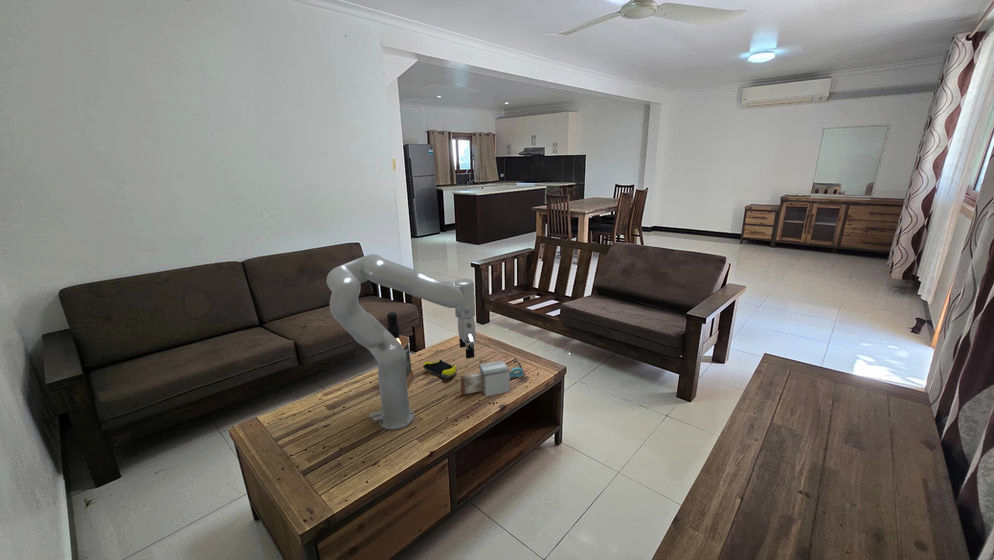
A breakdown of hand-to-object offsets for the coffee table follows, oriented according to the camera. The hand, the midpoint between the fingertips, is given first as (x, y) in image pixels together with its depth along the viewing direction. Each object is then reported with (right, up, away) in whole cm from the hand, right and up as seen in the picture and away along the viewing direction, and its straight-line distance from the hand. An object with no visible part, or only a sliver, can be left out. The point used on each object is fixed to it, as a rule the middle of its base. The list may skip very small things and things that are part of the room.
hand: (466, 352), depth 156 cm
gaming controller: (-13, -14, +20) cm, 28 cm away
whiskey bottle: (-30, -16, +14) cm, 36 cm away
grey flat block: (+6, -16, +6) cm, 18 cm away
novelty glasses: (+16, -13, +22) cm, 30 cm away
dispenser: (+11, -16, +8) cm, 21 cm away
